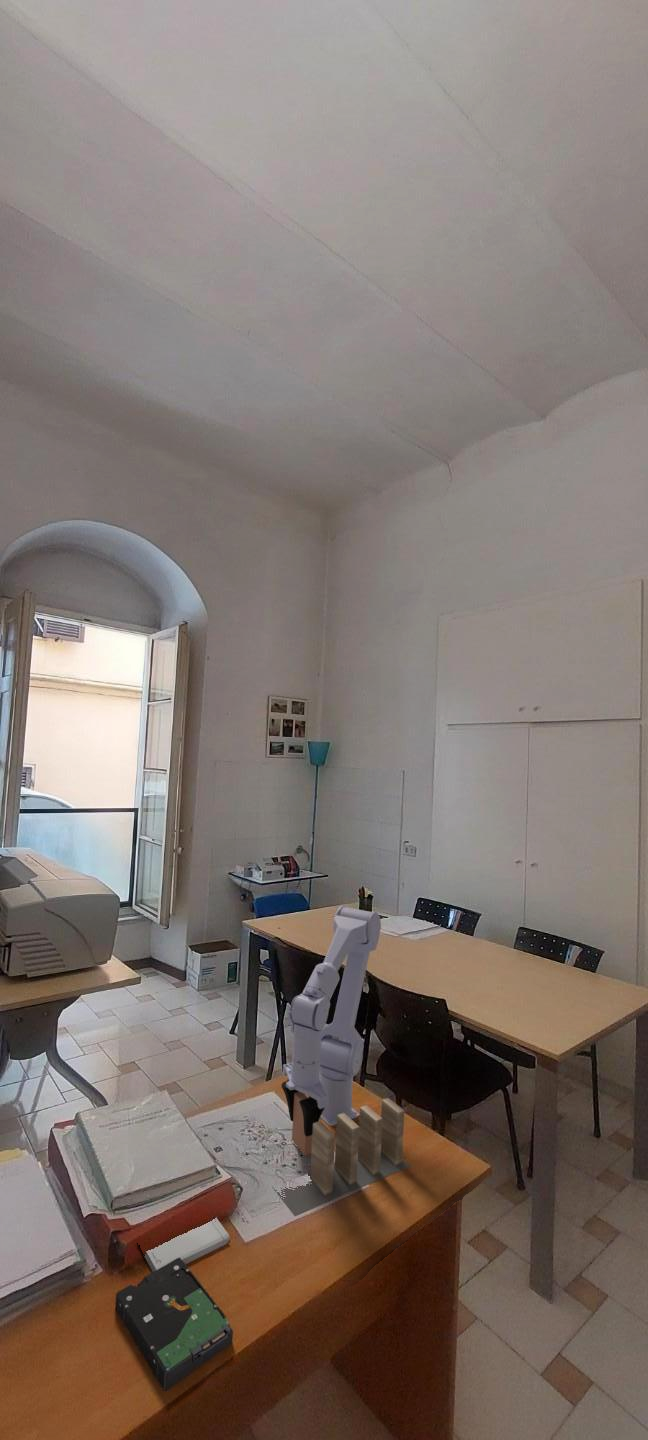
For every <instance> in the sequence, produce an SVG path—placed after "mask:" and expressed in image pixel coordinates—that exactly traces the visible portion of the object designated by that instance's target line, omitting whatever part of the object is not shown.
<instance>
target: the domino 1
mask: <svg viewBox="0 0 648 1440" xmlns="http://www.w3.org/2000/svg"><path fill="white" fill-rule="evenodd" d="M307 1098H309V1096H308V1095H305V1094H303V1093H301V1092H297V1093H294V1109H293V1121H292V1127H291V1128H292V1131H291V1133H292V1134H291V1141H292V1140H293V1141H294V1143H295V1144H296V1145H297V1147H298V1148H299V1149H300V1150H299V1149H298V1148H297V1147H296V1148H297V1149H298V1150H299V1152H300V1151H301V1152H302V1153H303V1154H304V1155H306V1156H308V1154H309V1155H311V1154H310V1153H311V1152H312V1135H311V1136H308V1137H306V1136H305V1134H304V1119H303V1112H302V1108H301V1105H300V1103H299V1101H300V1100H304V1099H307ZM301 1152H300V1153H301ZM302 1153H301V1154H302ZM303 1154H302V1155H303ZM304 1155H303V1156H304Z"/></svg>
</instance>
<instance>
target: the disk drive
mask: <svg viewBox="0 0 648 1440" xmlns="http://www.w3.org/2000/svg"><path fill="white" fill-rule="evenodd" d="M114 1310H115V1311H116V1313H117V1315H118V1317H119V1319H120V1320H121V1323H123V1324H124V1325H123V1326H125V1328H126V1330H127V1331H128V1333H129V1335H130V1337H131V1338H132V1339H133V1341H134V1343H135V1345H136V1346H137V1349H138V1350H139V1352H140V1353H141V1355H142V1357H143V1358H144V1360H145V1361H146V1363H147V1365H148V1366H149V1368H150V1370H151V1372H152V1374H153V1376H154V1378H155V1379H156V1380H157V1382H158V1383H159V1386H161V1389H162V1391H163V1392H167V1391H168V1390H169V1389H171V1388H173V1386H175V1385H176V1384H178V1383H180V1382H181V1381H182V1380H183V1379H185V1378H186V1377H187V1376H189V1375H190V1374H192V1373H193V1372H195V1371H196V1370H197V1369H199V1367H201V1366H203V1365H204V1364H205V1363H207V1362H209V1361H210V1360H211V1359H213V1358H214V1357H216V1356H217V1355H218V1354H219V1353H221V1352H222V1351H224V1350H225V1349H227V1348H228V1347H229V1346H231V1345H233V1336H234V1330H233V1328H232V1327H231V1324H230V1321H229V1320H228V1319H227V1316H226V1313H224V1312H223V1309H220V1307H219V1306H218V1304H217V1303H216V1302H215V1300H214V1299H213V1298H212V1297H211V1295H210V1294H209V1292H208V1291H207V1290H206V1289H205V1288H204V1286H203V1285H202V1284H201V1282H200V1281H199V1280H198V1279H197V1278H196V1276H195V1275H194V1273H193V1272H192V1271H191V1270H190V1268H189V1266H188V1265H187V1264H185V1263H184V1262H183V1261H182V1260H181V1258H180V1257H179V1258H177V1259H175V1260H173V1261H172V1262H170V1263H168V1264H167V1265H165V1266H163V1267H161V1268H159V1269H158V1270H156V1271H154V1272H152V1271H151V1273H149V1274H147V1275H145V1276H144V1277H143V1278H142V1279H141V1280H140V1281H139V1282H138V1284H137V1286H136V1285H132V1284H129V1285H127V1286H126V1287H124V1288H122V1289H121V1290H118V1291H117V1292H116V1294H115V1308H114Z"/></svg>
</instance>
